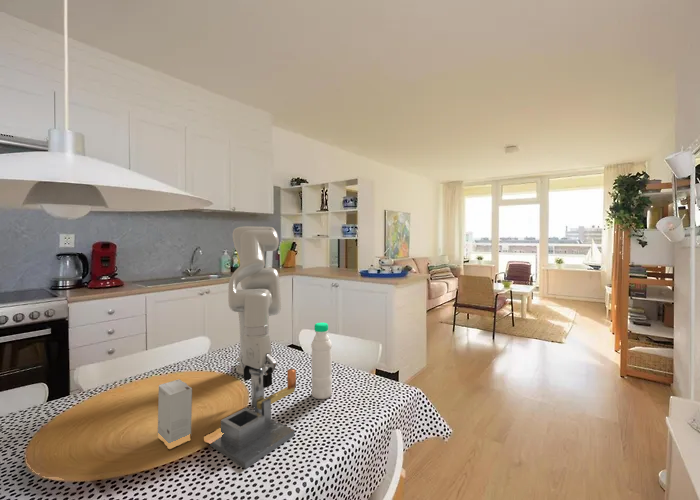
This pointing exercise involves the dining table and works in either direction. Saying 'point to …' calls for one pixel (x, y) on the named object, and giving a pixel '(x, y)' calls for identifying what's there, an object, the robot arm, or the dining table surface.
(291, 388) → the lock pin
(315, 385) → the water bottle
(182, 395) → the skincare box
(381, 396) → the dining table surface
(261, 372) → the grey cylinder
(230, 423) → the dock
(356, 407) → the dining table surface
